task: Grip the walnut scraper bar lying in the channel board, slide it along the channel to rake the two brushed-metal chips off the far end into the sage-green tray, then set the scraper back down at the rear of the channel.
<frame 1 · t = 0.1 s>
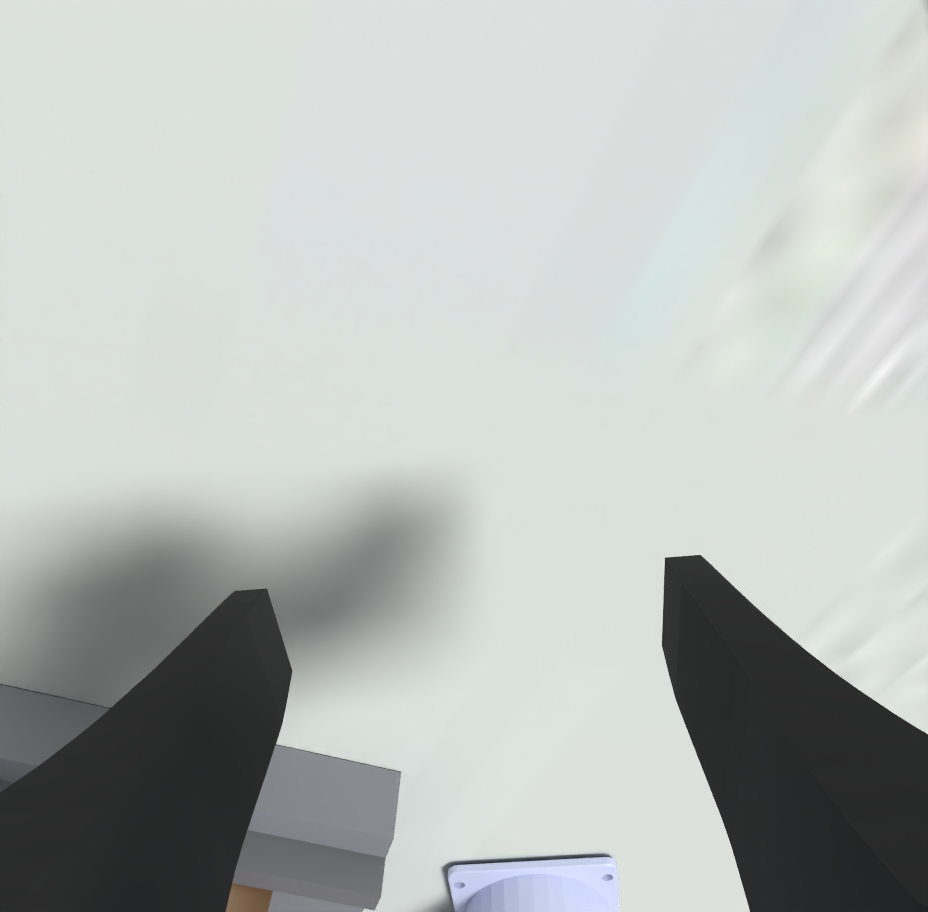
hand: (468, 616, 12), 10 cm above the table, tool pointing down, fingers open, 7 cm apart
channel board: (152, 828, 32), on the table
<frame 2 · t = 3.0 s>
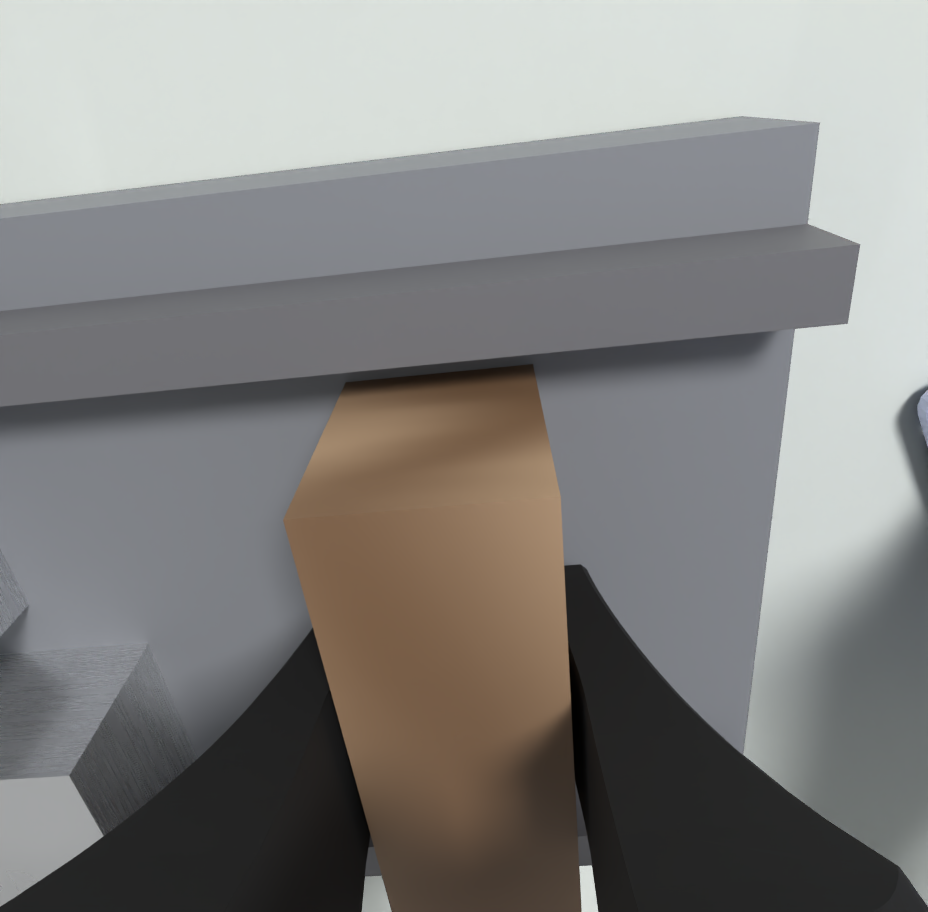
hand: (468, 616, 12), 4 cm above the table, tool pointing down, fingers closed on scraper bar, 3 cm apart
scraper bar: (468, 595, 13), point 3 cm above the table, touching channel board, gripper
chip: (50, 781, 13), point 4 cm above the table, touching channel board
channel board: (277, 526, 16), on the table
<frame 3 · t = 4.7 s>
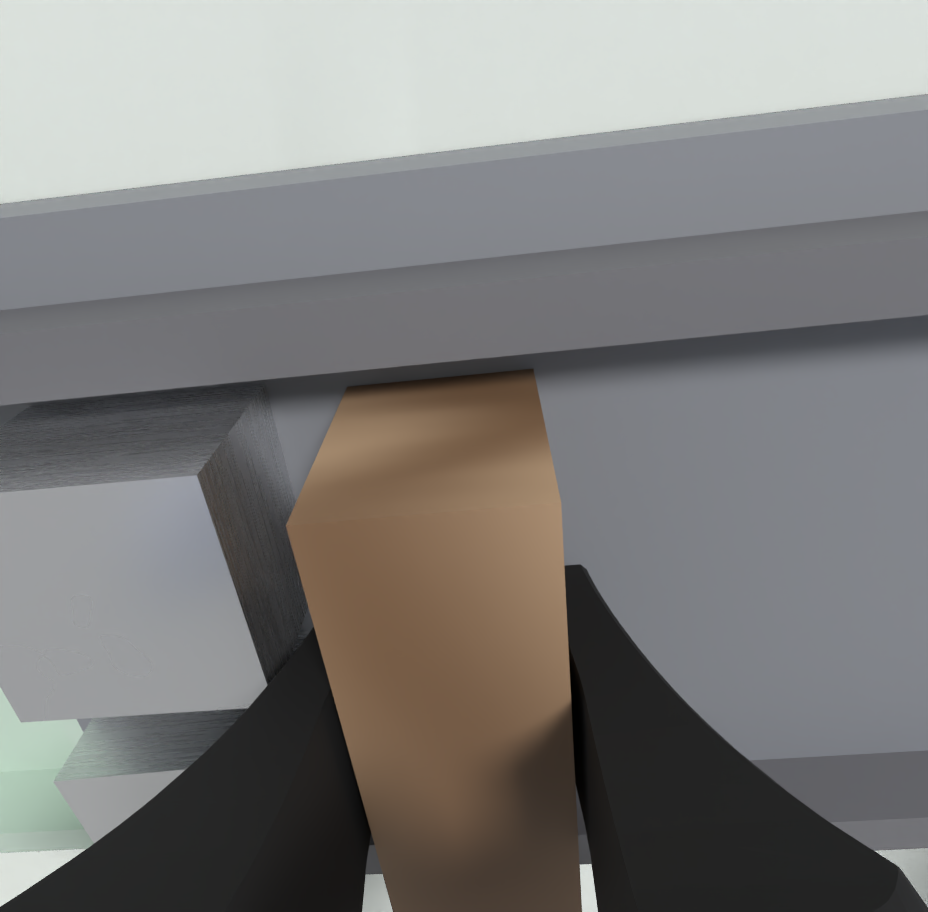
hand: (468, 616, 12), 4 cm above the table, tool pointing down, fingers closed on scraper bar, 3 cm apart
scraper bar: (469, 597, 13), point 3 cm above the table, touching gripper
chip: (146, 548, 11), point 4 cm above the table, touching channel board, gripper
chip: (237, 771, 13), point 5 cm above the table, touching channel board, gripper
channel board: (521, 504, 15), on the table
when the fingers open (5 cm above the table, at t = 9.7 s): scraper bar stays where it is, resting on channel board.
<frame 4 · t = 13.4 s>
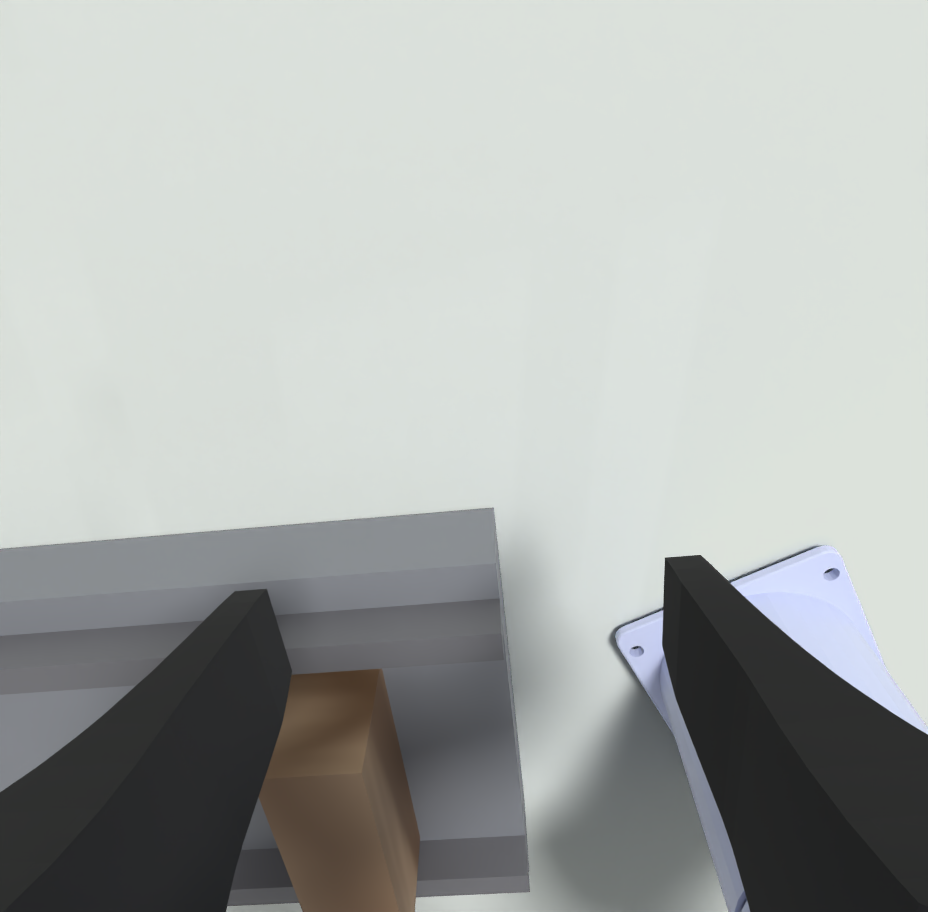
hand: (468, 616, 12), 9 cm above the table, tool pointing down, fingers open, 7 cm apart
scraper bar: (359, 760, 24), point 3 cm above the table, touching channel board
channel board: (254, 691, 26), on the table
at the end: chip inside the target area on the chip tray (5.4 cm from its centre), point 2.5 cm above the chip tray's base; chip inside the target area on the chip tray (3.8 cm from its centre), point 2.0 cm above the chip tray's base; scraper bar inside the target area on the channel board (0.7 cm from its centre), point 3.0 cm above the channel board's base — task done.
